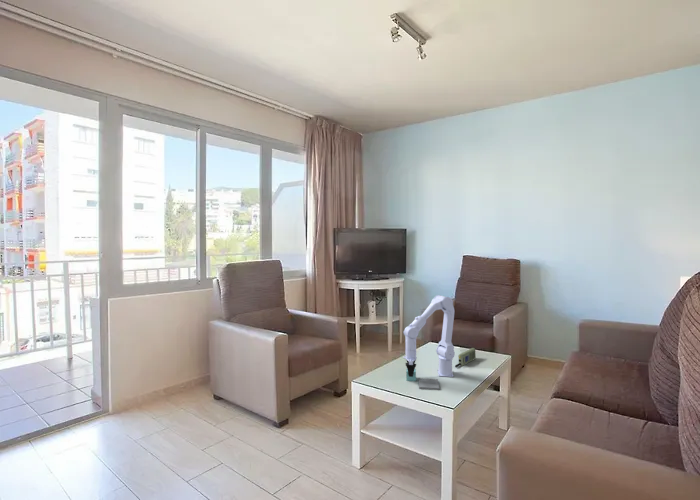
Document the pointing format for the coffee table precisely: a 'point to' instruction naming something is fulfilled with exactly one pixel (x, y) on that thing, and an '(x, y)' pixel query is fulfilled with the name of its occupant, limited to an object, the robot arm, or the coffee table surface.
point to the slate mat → (428, 384)
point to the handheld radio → (466, 357)
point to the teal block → (411, 377)
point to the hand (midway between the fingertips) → (410, 373)
